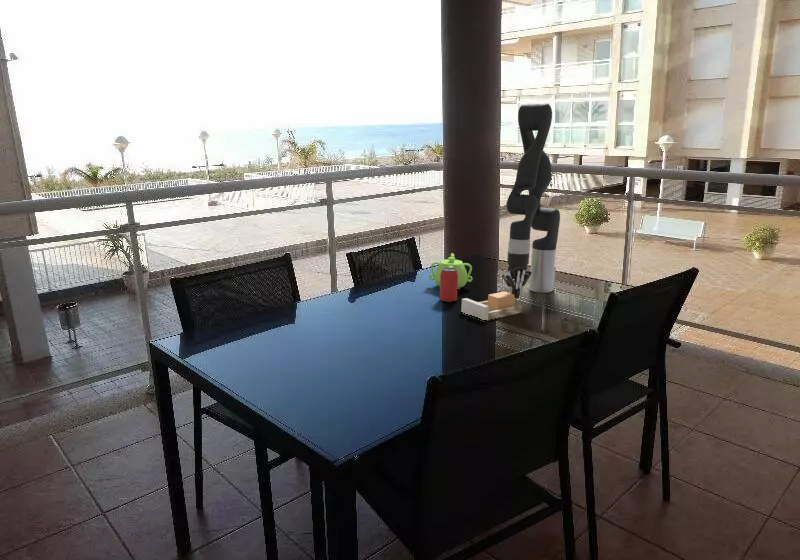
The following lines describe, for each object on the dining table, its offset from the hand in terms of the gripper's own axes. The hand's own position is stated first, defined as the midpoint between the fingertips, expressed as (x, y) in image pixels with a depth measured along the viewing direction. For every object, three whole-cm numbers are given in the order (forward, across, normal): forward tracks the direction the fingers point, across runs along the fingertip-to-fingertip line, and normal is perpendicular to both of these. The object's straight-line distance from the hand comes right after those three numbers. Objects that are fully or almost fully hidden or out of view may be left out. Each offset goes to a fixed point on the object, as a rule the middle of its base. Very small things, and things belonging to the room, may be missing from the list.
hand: (515, 298), depth 210 cm
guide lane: (+4, +11, 0) cm, 11 cm away
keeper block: (+4, +7, 0) cm, 8 cm away
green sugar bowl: (+4, +1, -34) cm, 34 cm away
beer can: (+4, +14, -20) cm, 25 cm away
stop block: (+4, +20, 0) cm, 20 cm away
